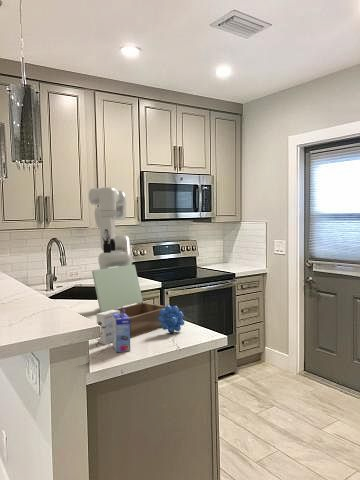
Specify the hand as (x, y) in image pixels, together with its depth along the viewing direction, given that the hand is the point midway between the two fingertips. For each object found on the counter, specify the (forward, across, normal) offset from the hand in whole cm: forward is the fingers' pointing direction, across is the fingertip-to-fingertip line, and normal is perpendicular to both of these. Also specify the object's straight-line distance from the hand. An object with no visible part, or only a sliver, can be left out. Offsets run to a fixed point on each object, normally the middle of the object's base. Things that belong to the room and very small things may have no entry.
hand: (109, 251), depth 182 cm
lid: (+16, +1, +4) cm, 17 cm away
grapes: (+33, +19, +29) cm, 48 cm away
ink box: (+33, +27, +5) cm, 43 cm away
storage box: (+33, +8, +13) cm, 37 cm away
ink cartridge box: (+33, +36, +11) cm, 51 cm away
